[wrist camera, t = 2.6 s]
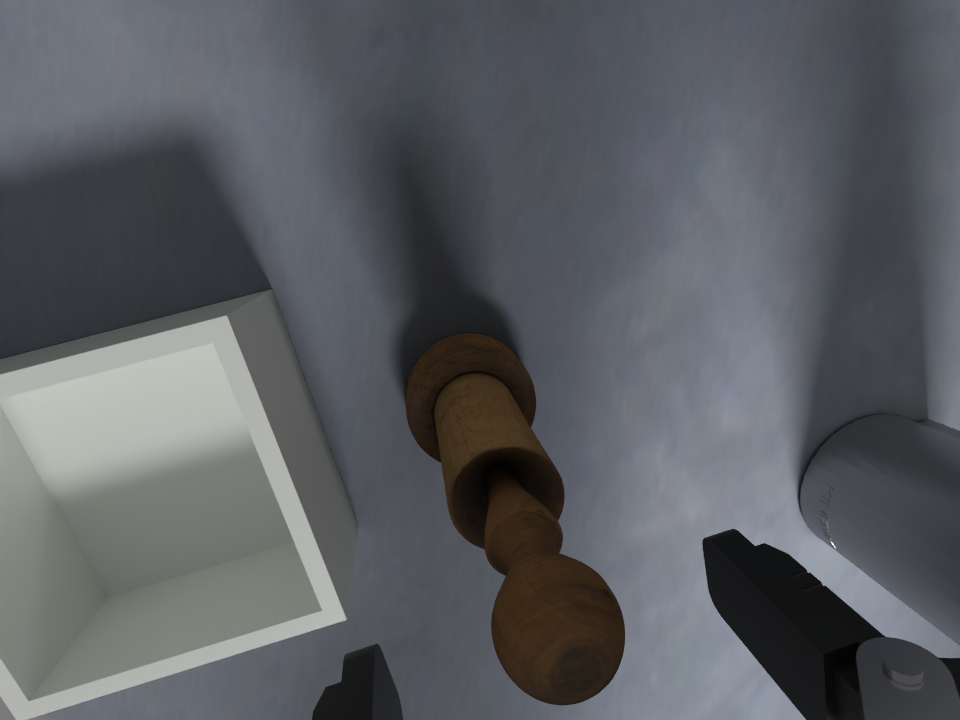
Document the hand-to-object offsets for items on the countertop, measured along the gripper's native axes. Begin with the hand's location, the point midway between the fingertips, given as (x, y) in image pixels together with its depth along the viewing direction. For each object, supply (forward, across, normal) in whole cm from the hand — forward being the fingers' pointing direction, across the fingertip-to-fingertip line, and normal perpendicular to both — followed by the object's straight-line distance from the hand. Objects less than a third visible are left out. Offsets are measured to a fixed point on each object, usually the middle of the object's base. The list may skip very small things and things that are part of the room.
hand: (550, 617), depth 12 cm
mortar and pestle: (+16, 0, 0) cm, 17 cm away
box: (+16, +14, -1) cm, 22 cm away
